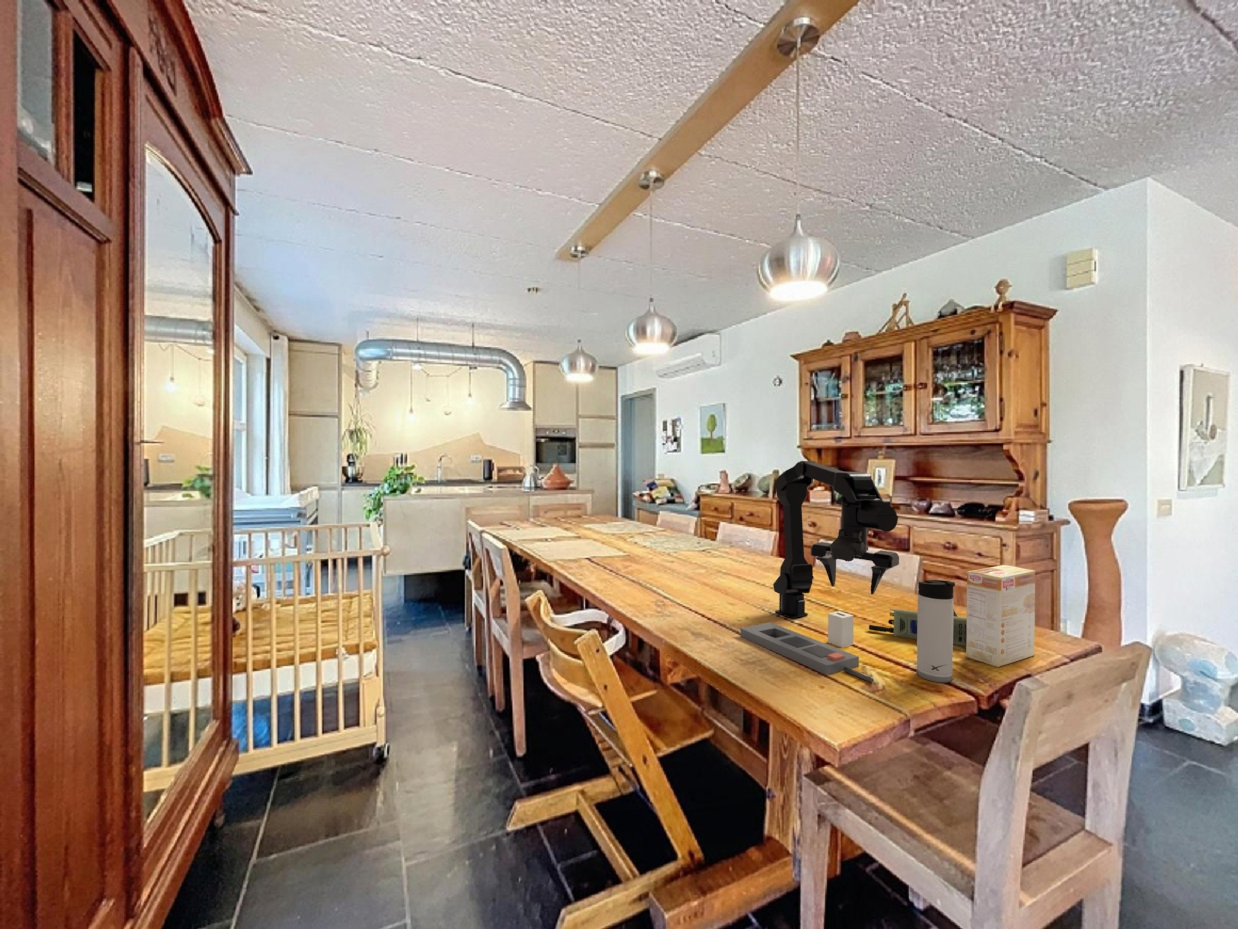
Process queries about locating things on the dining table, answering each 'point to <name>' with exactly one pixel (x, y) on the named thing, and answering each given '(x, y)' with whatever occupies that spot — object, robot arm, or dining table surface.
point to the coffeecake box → (1000, 614)
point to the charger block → (840, 629)
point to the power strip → (803, 649)
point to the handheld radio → (908, 626)
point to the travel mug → (935, 630)
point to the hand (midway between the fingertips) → (852, 590)
